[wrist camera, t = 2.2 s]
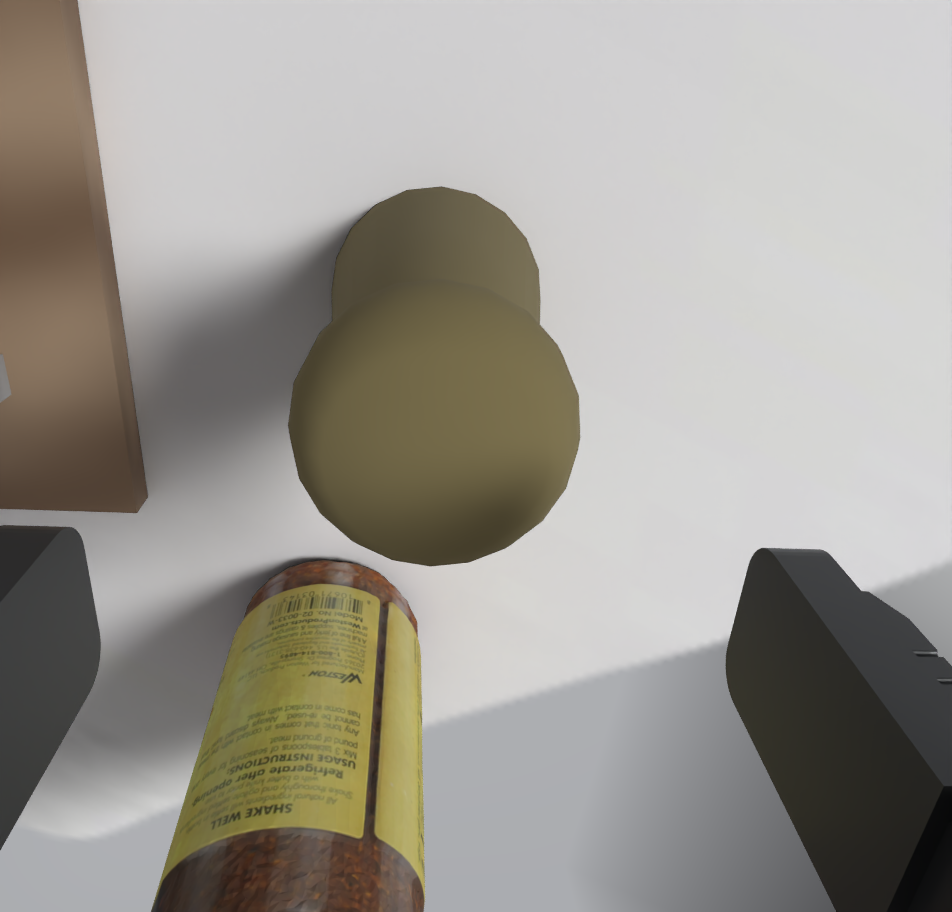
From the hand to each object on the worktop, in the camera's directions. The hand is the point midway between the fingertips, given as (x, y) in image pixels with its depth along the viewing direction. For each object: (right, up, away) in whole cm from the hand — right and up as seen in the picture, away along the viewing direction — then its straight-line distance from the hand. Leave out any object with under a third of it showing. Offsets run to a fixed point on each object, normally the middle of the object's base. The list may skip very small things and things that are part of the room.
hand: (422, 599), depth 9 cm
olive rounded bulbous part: (0, +6, +13) cm, 15 cm away
